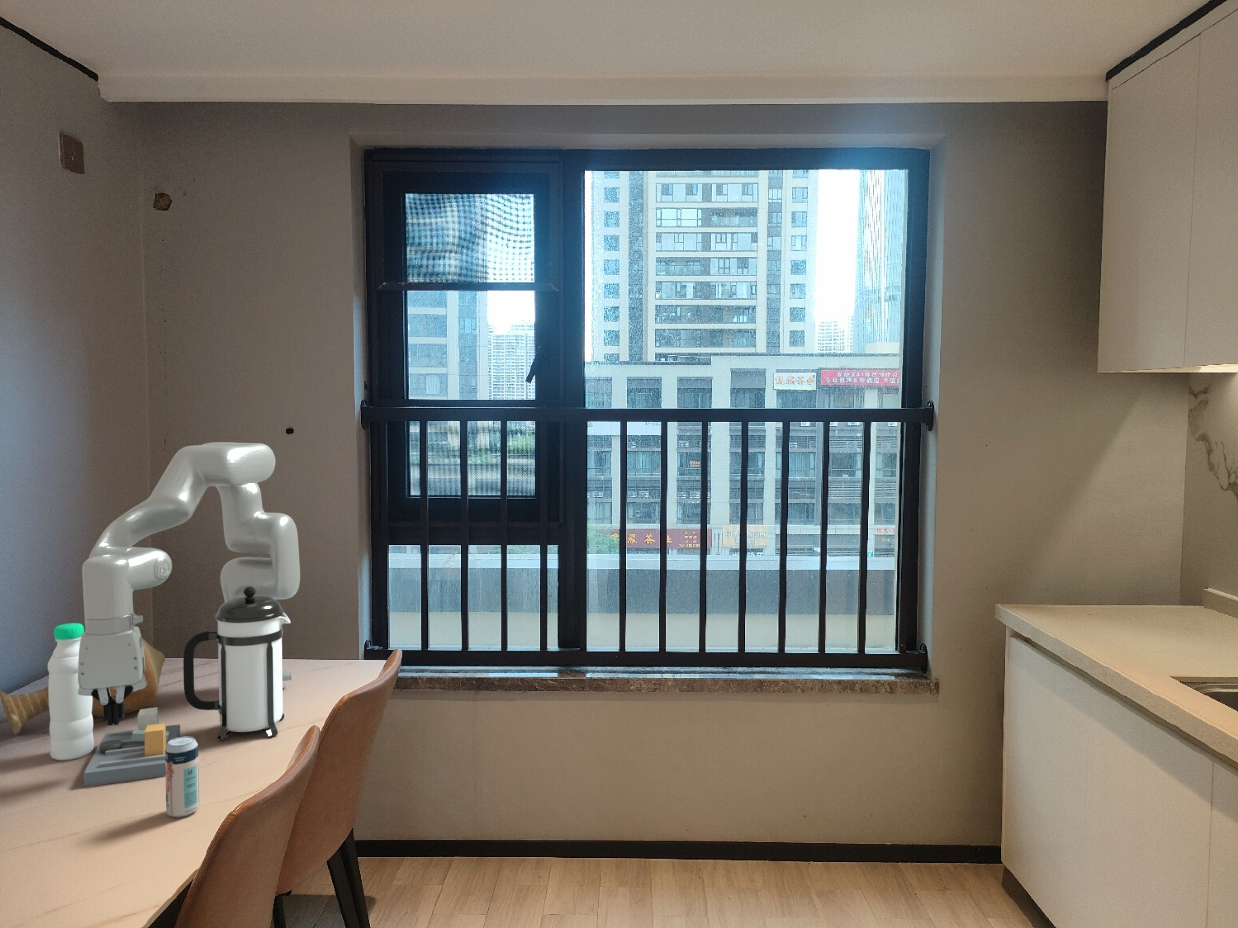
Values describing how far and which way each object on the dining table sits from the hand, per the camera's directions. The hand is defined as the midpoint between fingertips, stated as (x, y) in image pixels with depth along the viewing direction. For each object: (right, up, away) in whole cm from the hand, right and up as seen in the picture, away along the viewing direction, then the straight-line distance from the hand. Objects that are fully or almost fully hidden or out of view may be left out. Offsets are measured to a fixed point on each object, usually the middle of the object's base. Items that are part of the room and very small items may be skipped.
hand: (114, 722), depth 154 cm
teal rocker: (+3, -4, +6) cm, 8 cm away
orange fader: (+6, -6, +2) cm, 9 cm away
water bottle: (-13, -9, +8) cm, 17 cm away
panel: (+1, -9, +5) cm, 10 cm away
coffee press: (+15, -8, +20) cm, 26 cm away
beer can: (+20, -10, -15) cm, 27 cm away
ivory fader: (0, -6, +10) cm, 12 cm away
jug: (-22, -8, +27) cm, 35 cm away
